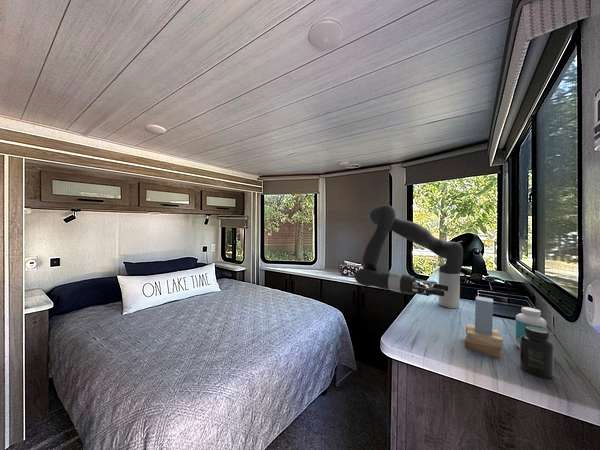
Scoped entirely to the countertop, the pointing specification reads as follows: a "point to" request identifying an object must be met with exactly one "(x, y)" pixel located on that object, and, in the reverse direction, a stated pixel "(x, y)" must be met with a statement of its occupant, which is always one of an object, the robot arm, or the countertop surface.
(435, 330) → the countertop surface
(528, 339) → the supplement bottle
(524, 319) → the pill bottle
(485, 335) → the tower top
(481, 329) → the pillar
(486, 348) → the tower base
